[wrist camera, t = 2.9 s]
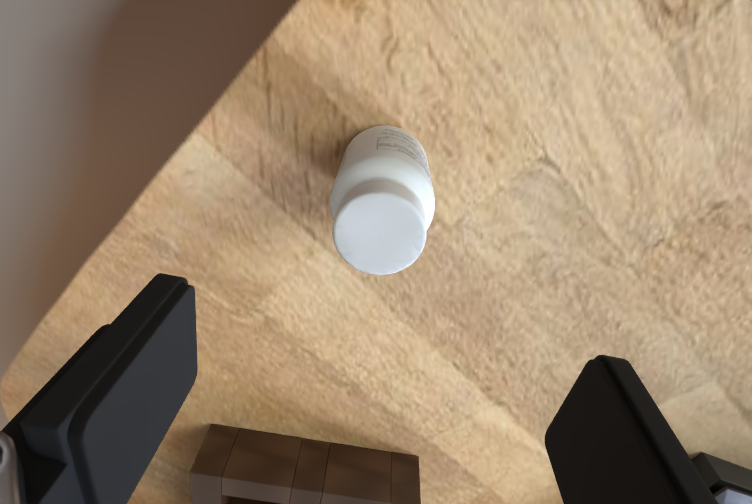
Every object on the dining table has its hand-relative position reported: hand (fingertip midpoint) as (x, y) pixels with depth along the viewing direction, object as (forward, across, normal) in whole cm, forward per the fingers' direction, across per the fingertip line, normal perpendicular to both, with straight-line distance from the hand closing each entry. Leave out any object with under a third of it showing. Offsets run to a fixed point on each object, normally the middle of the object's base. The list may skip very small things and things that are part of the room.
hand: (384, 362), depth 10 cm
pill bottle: (+14, +1, 0) cm, 14 cm away
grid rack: (+14, +2, +31) cm, 34 cm away
